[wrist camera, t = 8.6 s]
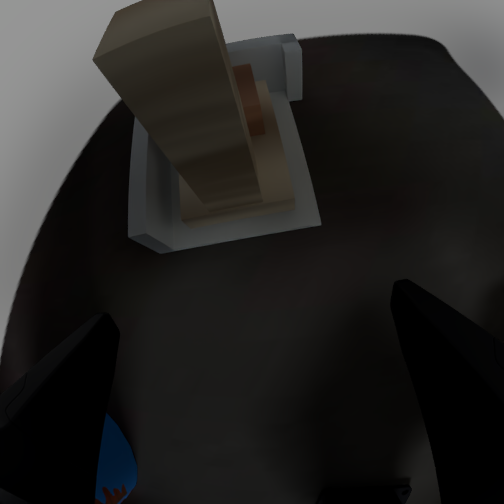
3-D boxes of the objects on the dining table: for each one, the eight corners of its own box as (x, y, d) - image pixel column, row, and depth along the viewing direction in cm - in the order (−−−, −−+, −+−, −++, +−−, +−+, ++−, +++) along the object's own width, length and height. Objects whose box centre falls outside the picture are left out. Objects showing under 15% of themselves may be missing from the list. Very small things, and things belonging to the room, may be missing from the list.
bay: (338, 222, 16) (355, 186, 12) (160, 253, 18) (117, 231, 13) (295, 81, 19) (293, 33, 14) (160, 111, 20) (135, 71, 16)
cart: (294, 215, 17) (288, 5, 4) (196, 233, 17) (43, 91, 5) (269, 104, 19) (239, -59, 6) (189, 121, 19) (113, -21, 7)
